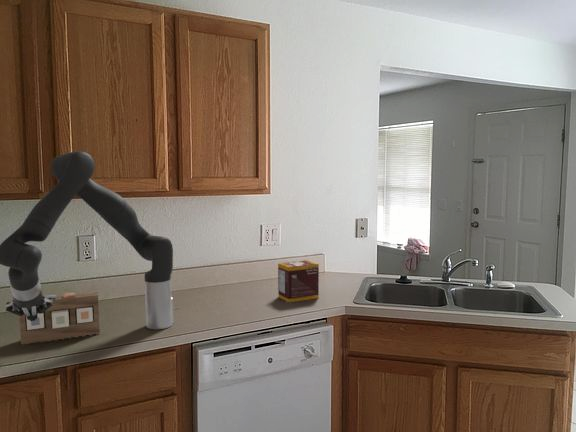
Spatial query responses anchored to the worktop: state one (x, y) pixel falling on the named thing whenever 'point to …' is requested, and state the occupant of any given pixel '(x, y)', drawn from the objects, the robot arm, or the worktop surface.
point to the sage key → (60, 318)
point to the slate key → (36, 322)
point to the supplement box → (298, 280)
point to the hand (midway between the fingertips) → (32, 318)
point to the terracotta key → (84, 314)
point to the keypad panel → (74, 328)
